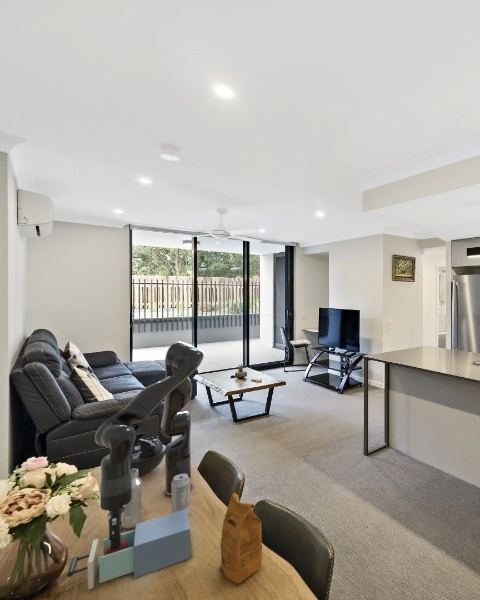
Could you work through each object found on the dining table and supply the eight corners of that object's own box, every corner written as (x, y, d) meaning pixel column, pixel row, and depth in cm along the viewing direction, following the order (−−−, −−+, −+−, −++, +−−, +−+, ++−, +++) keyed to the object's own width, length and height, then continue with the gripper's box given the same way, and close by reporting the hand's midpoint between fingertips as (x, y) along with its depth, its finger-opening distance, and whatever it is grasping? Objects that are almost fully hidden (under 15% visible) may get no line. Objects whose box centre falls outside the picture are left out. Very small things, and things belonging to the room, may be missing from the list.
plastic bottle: (132, 532, 128) (131, 476, 128) (116, 529, 130) (115, 474, 129) (148, 521, 135) (147, 468, 134) (133, 518, 136) (132, 466, 135)
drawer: (65, 597, 100) (64, 570, 100) (73, 571, 109) (72, 545, 109) (145, 569, 110) (145, 544, 110) (146, 547, 119) (146, 524, 119)
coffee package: (246, 550, 120) (246, 484, 119) (266, 569, 111) (265, 498, 111) (215, 567, 112) (215, 497, 111) (234, 589, 104) (233, 514, 103)
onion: (134, 558, 113) (132, 535, 111) (114, 574, 107) (112, 550, 106) (121, 553, 114) (119, 530, 113) (101, 568, 109) (99, 544, 108)
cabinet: (134, 578, 108) (133, 546, 108) (136, 552, 118) (135, 523, 118) (190, 558, 116) (190, 528, 116) (187, 535, 126) (187, 508, 126)
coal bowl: (128, 465, 177) (128, 427, 177) (173, 462, 181) (173, 424, 180) (103, 487, 158) (102, 444, 157) (154, 483, 161) (153, 441, 161)
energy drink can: (186, 508, 142) (186, 471, 142) (192, 514, 138) (192, 476, 138) (169, 516, 138) (168, 477, 137) (175, 522, 134) (174, 482, 133)
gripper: (103, 481, 114) (104, 532, 114) (97, 504, 102) (98, 560, 103) (132, 475, 118) (133, 523, 119) (130, 495, 106) (130, 549, 107)
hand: (117, 540), depth 111 cm, fingers open, 8 cm apart
